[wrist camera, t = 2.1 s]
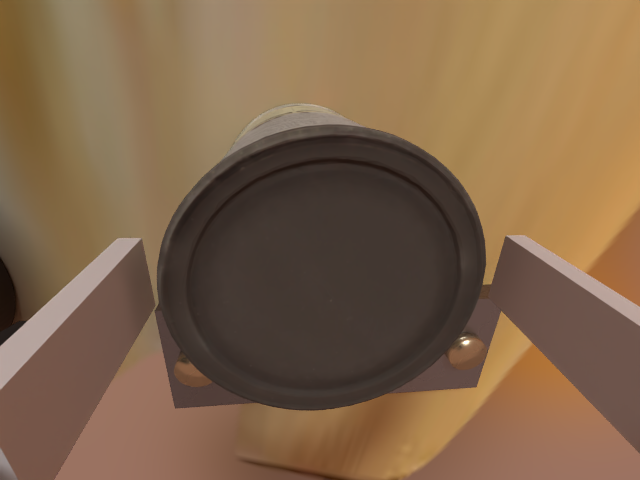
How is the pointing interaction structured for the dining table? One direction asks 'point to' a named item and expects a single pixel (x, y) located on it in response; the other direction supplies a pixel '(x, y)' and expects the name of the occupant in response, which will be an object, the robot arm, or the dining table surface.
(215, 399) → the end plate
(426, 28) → the dining table surface
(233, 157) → the coffee can
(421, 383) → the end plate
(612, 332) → the robot arm
